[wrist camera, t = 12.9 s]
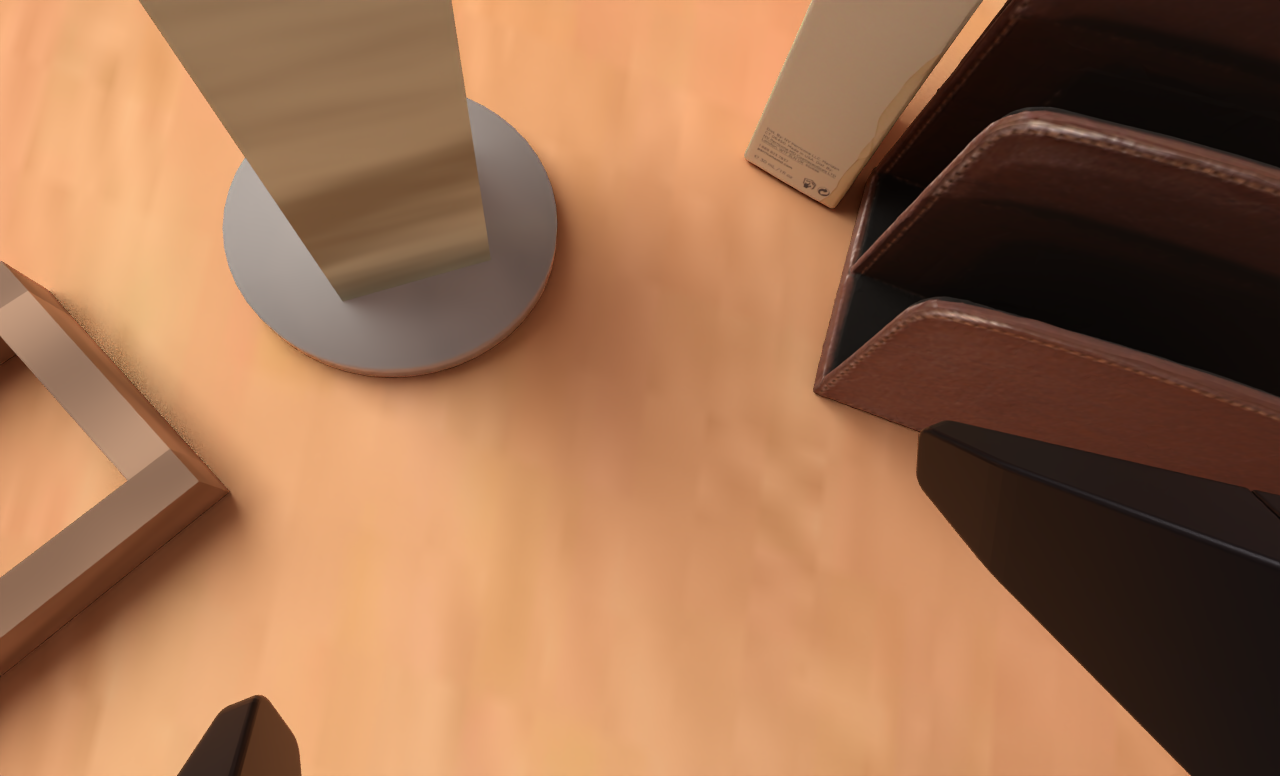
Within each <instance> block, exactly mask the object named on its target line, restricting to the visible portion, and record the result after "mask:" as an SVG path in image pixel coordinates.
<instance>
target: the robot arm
mask: <svg viewBox="0 0 1280 776" xmlns="http://www.w3.org/2000/svg"><path fill="white" fill-rule="evenodd" d="M916 475H917V479H918V482H919V485H920V486H921V488H922V490H923V491H924V492H925V494H926V495H927V496H928V497H929V499H930V500H931V501H932V502H933V504H934V505H935V506H936V507H937V508H938V510H939V511H940V512H941V513H942V515H943V516H944V517H945V518H946V520H947V521H948V522H949V523H950V524H951V526H952V527H953V528H954V529H955V531H956V532H957V533H958V534H959V536H960V537H961V538H962V539H963V540H964V542H965V543H966V544H967V545H968V547H969V548H970V549H971V550H972V552H973V553H974V554H975V555H976V556H977V558H978V559H979V560H980V561H981V562H982V563H983V565H984V566H985V567H986V568H987V569H988V570H989V571H990V573H991V574H992V575H993V576H994V577H995V578H996V579H997V580H998V581H999V582H1000V583H1001V584H1002V585H1003V586H1004V587H1005V588H1006V589H1007V590H1008V591H1009V592H1010V593H1011V594H1012V595H1013V596H1014V597H1015V598H1016V599H1017V600H1018V601H1019V602H1020V603H1021V604H1022V605H1023V606H1024V608H1025V609H1026V610H1027V611H1028V612H1029V613H1030V614H1031V615H1032V616H1033V617H1034V618H1035V619H1036V620H1037V621H1038V622H1039V623H1040V624H1041V625H1042V626H1043V627H1044V628H1045V629H1046V630H1047V631H1048V632H1049V633H1050V634H1051V635H1052V636H1053V637H1054V638H1055V639H1056V640H1057V641H1058V642H1059V643H1060V644H1061V645H1062V646H1063V647H1064V648H1065V649H1066V650H1067V651H1068V652H1069V653H1070V654H1071V655H1072V656H1073V657H1074V658H1075V659H1076V660H1077V661H1078V662H1079V663H1080V664H1081V665H1082V666H1083V667H1084V668H1085V669H1086V670H1087V671H1088V672H1089V673H1090V674H1091V675H1092V676H1093V677H1094V678H1095V679H1096V680H1097V681H1098V682H1099V683H1100V684H1101V685H1102V686H1103V687H1104V688H1105V689H1106V690H1107V691H1108V692H1109V693H1110V694H1111V696H1112V697H1113V698H1114V699H1115V700H1116V701H1117V702H1118V703H1119V704H1120V705H1121V706H1122V707H1123V708H1124V709H1125V710H1126V711H1127V712H1128V713H1129V714H1130V715H1131V716H1132V717H1133V718H1134V719H1135V720H1136V721H1137V722H1138V723H1139V724H1140V725H1141V726H1142V727H1143V728H1144V729H1145V730H1146V731H1147V732H1148V733H1149V734H1150V735H1151V736H1152V737H1153V738H1154V739H1155V740H1156V741H1157V742H1158V743H1159V744H1160V745H1161V746H1162V747H1163V748H1164V749H1165V750H1166V751H1167V752H1168V753H1169V754H1170V755H1171V756H1172V757H1173V758H1174V759H1175V760H1176V761H1177V762H1178V763H1179V764H1180V765H1181V766H1182V767H1183V768H1184V769H1185V770H1186V771H1187V772H1188V773H1189V774H1190V775H1191V776H1280V495H1276V494H1272V493H1268V492H1263V491H1259V490H1253V491H1250V490H1249V489H1247V488H1245V487H1241V486H1237V485H1232V484H1228V483H1223V482H1219V481H1215V480H1210V479H1206V478H1201V477H1197V476H1193V475H1188V474H1184V473H1179V472H1175V471H1171V470H1166V469H1162V468H1158V467H1153V466H1149V465H1144V464H1140V463H1136V462H1131V461H1127V460H1122V459H1118V458H1114V457H1109V456H1105V455H1100V454H1096V453H1092V452H1087V451H1083V450H1078V449H1074V448H1070V447H1065V446H1061V445H1057V444H1052V443H1048V442H1043V441H1039V440H1035V439H1030V438H1026V437H1021V436H1017V435H1013V434H1008V433H1004V432H999V431H995V430H991V429H986V428H982V427H977V426H973V425H969V424H964V423H960V422H956V421H951V420H945V421H941V422H938V423H936V424H933V425H931V426H928V427H926V428H924V429H923V430H921V432H920V434H919V437H918V450H917V468H916ZM177 776H301V764H300V754H299V748H298V744H297V741H296V739H295V736H294V734H293V733H292V731H291V730H290V729H289V727H288V726H287V724H286V723H285V722H284V720H283V719H282V718H281V716H280V715H279V713H278V712H277V711H276V709H275V708H274V706H273V705H272V704H271V702H270V701H269V700H268V699H267V698H266V697H264V696H263V695H255V696H252V697H250V698H247V699H245V700H242V701H240V702H237V703H235V704H232V705H230V706H227V707H226V708H224V709H223V710H222V711H221V712H220V713H219V714H218V715H217V716H216V718H215V719H214V721H213V722H212V724H211V725H210V727H209V728H208V730H207V731H206V733H205V734H204V736H203V737H202V739H201V741H200V742H199V744H198V745H197V747H196V748H195V750H194V751H193V753H192V754H191V756H190V757H189V759H188V760H187V762H186V763H185V765H184V766H183V768H182V769H181V771H180V772H179V774H178V775H177Z"/></svg>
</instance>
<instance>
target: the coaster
mask: <svg viewBox="0 0 1280 776" xmlns="http://www.w3.org/2000/svg"><path fill="white" fill-rule="evenodd" d="M466 99H467V106H468V113H469V119H470V126H471V132H472V139H473V145H474V152H475V159H476V165H477V172H478V178H479V185H480V191H481V198H482V205H483V211H484V218H485V224H486V231H487V237H488V244H489V251H490V257H491V260H489V261H485V262H482V263H478V264H474V265H471V266H467V267H464V268H460V269H457V270H453V271H450V272H446V273H442V274H439V275H435V276H432V277H428V278H425V279H421V280H418V281H414V282H410V283H407V284H403V285H400V286H396V287H393V288H389V289H385V290H382V291H378V292H375V293H371V294H368V295H364V296H361V297H357V298H353V299H350V300H346V301H342V300H341V298H340V297H339V295H338V294H337V292H336V291H335V289H334V288H333V287H332V285H331V284H330V282H329V281H328V279H327V278H326V276H325V275H324V273H323V272H322V270H321V269H320V267H319V266H318V264H317V263H316V261H315V260H314V258H313V257H312V255H311V254H310V253H309V251H308V250H307V248H306V247H305V245H304V244H303V242H302V241H301V239H300V238H299V236H298V235H297V233H296V232H295V230H294V229H293V227H292V226H291V224H290V223H289V221H288V220H287V219H286V217H285V216H284V214H283V213H282V211H281V210H280V208H279V207H278V205H277V204H276V202H275V201H274V199H273V198H272V196H271V195H270V193H269V192H268V190H267V189H266V187H265V186H264V185H263V183H262V182H261V180H260V179H259V177H258V176H257V174H256V173H255V171H254V170H253V168H252V167H251V165H250V164H249V162H248V161H247V159H246V158H244V160H243V162H242V163H241V165H240V167H239V168H238V170H237V172H236V174H235V176H234V179H233V181H232V184H231V186H230V189H229V192H228V196H227V200H226V204H225V208H224V219H223V239H224V249H225V253H226V257H227V261H228V265H229V268H230V271H231V273H232V275H233V278H234V280H235V283H236V285H237V287H238V288H239V290H240V291H241V293H242V295H243V296H244V298H245V300H246V301H247V303H248V304H249V305H250V306H251V307H252V309H253V310H254V311H255V312H256V313H257V314H258V316H259V317H260V318H261V319H262V320H263V321H264V322H265V323H266V324H267V325H268V326H269V327H270V328H271V329H272V330H273V331H274V332H275V333H277V334H278V335H279V336H280V337H281V338H282V339H283V340H285V341H286V342H287V343H288V344H289V345H291V346H293V347H294V348H296V349H297V350H299V351H300V352H302V353H303V354H305V355H306V356H308V357H311V358H313V359H315V360H317V361H319V362H321V363H323V364H325V365H328V366H331V367H334V368H337V369H340V370H343V371H346V372H351V373H356V374H361V375H367V376H378V377H409V376H417V375H423V374H429V373H435V372H438V371H442V370H445V369H449V368H452V367H455V366H458V365H460V364H462V363H465V362H467V361H469V360H472V359H474V358H476V357H478V356H479V355H481V354H483V353H485V352H486V351H488V350H490V349H491V348H493V347H494V346H496V345H497V344H498V343H500V342H501V341H502V340H504V339H505V338H506V337H507V336H509V335H510V334H511V333H512V332H513V331H514V330H515V329H516V328H517V327H518V326H519V325H520V324H521V323H522V322H523V321H524V320H525V318H526V317H527V316H528V314H529V313H530V312H531V311H532V309H533V308H534V307H535V305H536V303H537V302H538V300H539V298H540V296H541V295H542V293H543V291H544V289H545V287H546V284H547V282H548V279H549V277H550V274H551V271H552V267H553V262H554V258H555V251H556V239H557V213H556V203H555V199H554V194H553V190H552V186H551V184H550V181H549V178H548V176H547V173H546V171H545V169H544V167H543V165H542V163H541V162H540V160H539V158H538V156H537V155H536V153H535V152H534V150H533V149H532V148H531V146H530V145H529V144H528V142H527V141H526V140H525V139H524V138H523V137H522V136H521V135H520V134H519V133H518V132H517V131H516V130H515V128H514V127H512V126H511V125H510V124H509V123H507V122H506V121H505V120H504V119H502V118H501V117H500V116H499V115H497V114H495V113H494V112H492V111H491V110H489V109H487V108H486V107H484V106H483V105H481V104H478V103H476V102H474V101H472V100H470V99H468V98H466Z"/></svg>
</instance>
